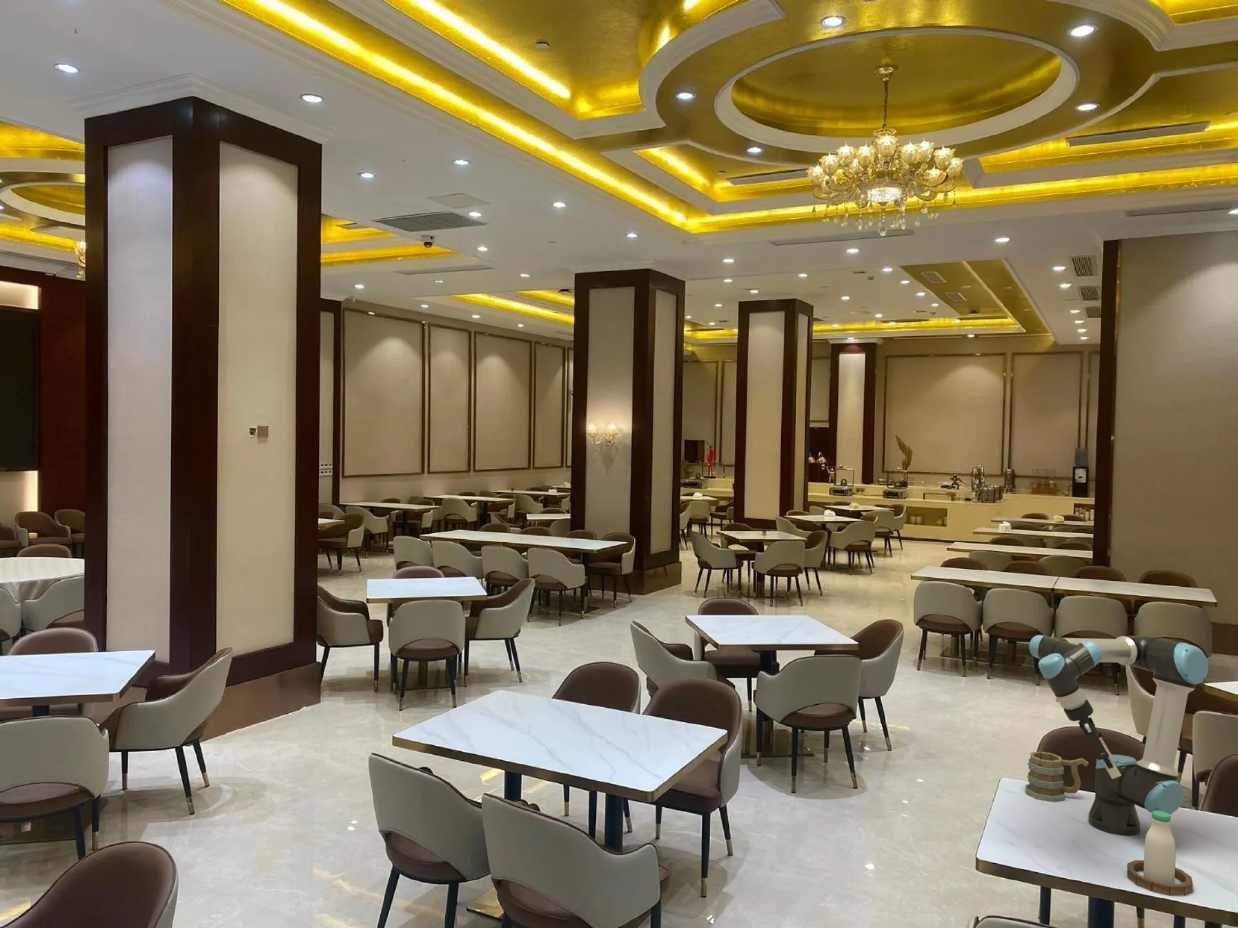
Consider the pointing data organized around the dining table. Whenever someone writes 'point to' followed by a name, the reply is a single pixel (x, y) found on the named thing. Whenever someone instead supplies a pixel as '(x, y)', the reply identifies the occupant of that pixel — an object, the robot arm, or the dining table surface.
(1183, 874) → the walnut ring
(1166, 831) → the milk bottle
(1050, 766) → the tankard
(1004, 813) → the dining table surface
